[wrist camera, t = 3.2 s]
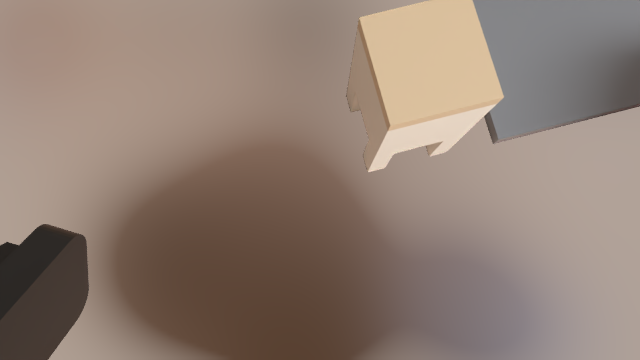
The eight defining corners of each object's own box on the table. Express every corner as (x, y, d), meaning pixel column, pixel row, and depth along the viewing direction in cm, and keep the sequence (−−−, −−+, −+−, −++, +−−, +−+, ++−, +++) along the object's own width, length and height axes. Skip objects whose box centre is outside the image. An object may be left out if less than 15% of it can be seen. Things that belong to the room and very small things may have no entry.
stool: (346, 95, 39) (359, 17, 27) (423, 76, 39) (469, -10, 27) (367, 172, 38) (390, 126, 26) (446, 152, 38) (504, 97, 26)
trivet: (434, -41, 40) (437, -51, 39) (618, -85, 41) (627, -96, 40) (493, 143, 38) (498, 139, 37) (686, 94, 39) (698, 88, 38)
